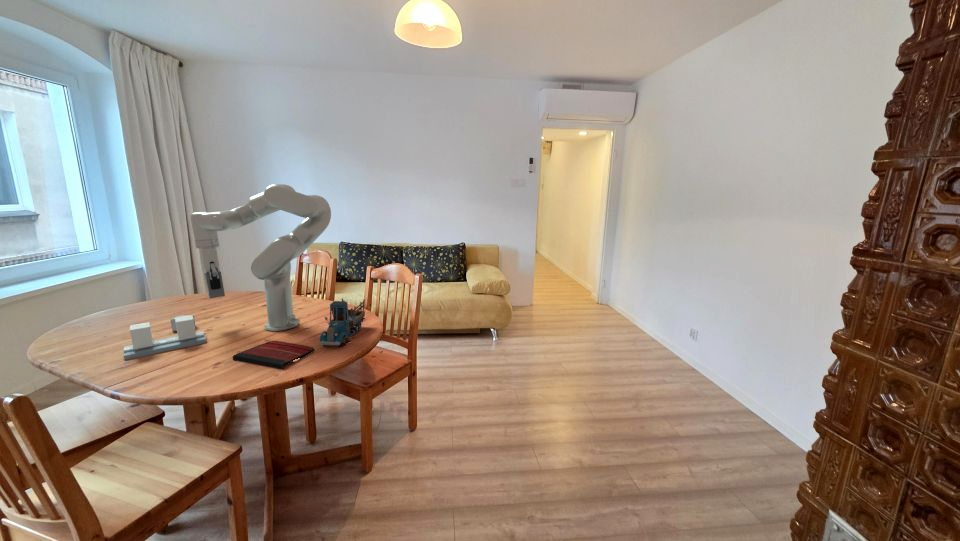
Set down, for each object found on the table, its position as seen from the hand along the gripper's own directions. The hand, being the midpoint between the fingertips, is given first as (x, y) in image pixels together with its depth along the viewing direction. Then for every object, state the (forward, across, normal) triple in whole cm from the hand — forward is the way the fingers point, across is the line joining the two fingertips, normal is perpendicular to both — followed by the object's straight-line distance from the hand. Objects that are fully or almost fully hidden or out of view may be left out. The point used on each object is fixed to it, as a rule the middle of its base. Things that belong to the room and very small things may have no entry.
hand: (214, 287), depth 147 cm
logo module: (+4, 0, 0) cm, 4 cm away
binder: (+19, +43, +10) cm, 48 cm away
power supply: (+17, -7, -12) cm, 22 cm away
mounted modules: (+15, +10, -18) cm, 25 cm away
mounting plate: (+17, +10, -18) cm, 27 cm away
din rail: (+15, +10, -18) cm, 26 cm away
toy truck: (+19, +42, +34) cm, 57 cm away
